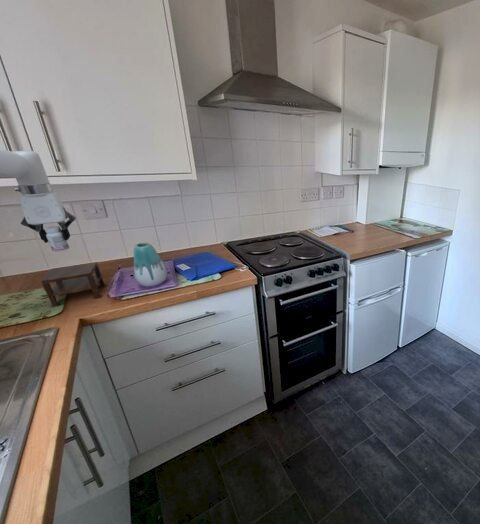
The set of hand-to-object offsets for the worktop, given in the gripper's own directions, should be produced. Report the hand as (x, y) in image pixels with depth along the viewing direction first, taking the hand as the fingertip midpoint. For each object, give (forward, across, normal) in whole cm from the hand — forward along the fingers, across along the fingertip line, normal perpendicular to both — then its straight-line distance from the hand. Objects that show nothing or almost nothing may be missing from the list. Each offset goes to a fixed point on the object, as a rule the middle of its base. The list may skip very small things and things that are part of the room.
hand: (57, 240), depth 108 cm
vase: (+23, +25, -1) cm, 34 cm away
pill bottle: (+4, 0, 0) cm, 4 cm away
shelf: (+23, 0, +1) cm, 23 cm away
